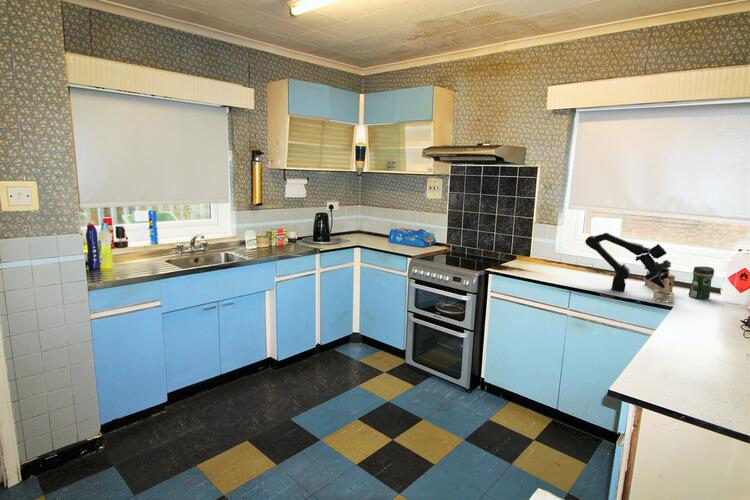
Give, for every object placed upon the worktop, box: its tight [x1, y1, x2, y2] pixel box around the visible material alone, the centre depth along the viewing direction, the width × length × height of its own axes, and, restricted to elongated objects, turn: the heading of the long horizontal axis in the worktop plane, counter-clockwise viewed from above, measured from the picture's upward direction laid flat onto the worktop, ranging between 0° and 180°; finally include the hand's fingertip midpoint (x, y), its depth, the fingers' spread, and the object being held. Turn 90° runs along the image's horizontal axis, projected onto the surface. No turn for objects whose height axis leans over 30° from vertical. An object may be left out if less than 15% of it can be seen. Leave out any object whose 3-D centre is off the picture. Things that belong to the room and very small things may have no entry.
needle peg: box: [661, 278, 670, 295], centre depth 242 cm, size 3×3×12 cm
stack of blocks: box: [644, 270, 676, 292], centre depth 261 cm, size 21×6×12 cm, turn 170°
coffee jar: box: [688, 266, 715, 300], centre depth 248 cm, size 10×8×19 cm
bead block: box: [653, 290, 675, 303], centre depth 242 cm, size 9×9×4 cm
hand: (667, 286), depth 240 cm, fingers open, 9 cm apart
